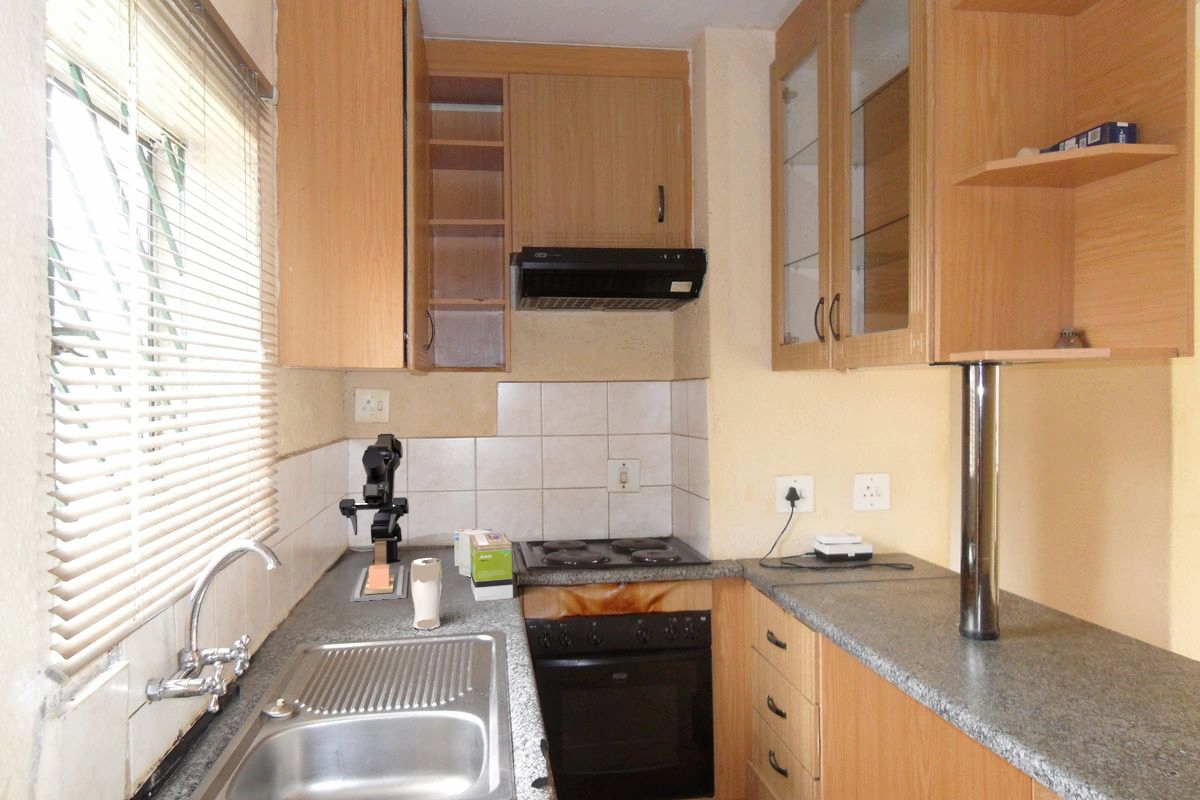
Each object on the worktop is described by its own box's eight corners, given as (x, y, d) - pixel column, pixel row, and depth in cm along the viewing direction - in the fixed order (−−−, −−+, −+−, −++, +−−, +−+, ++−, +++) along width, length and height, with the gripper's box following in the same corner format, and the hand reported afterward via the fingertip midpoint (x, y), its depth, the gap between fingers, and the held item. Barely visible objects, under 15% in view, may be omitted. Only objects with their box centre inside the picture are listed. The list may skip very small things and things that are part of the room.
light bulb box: (493, 562, 244) (492, 527, 244) (488, 567, 237) (487, 531, 237) (459, 561, 245) (459, 527, 245) (453, 566, 238) (453, 531, 238)
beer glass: (415, 622, 180) (414, 557, 180) (445, 622, 180) (444, 557, 180) (407, 631, 174) (406, 564, 173) (438, 631, 173) (437, 564, 173)
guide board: (358, 575, 228) (358, 568, 228) (408, 572, 231) (408, 565, 231) (349, 602, 199) (349, 593, 199) (406, 598, 202) (406, 589, 202)
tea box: (469, 588, 212) (468, 533, 212) (506, 585, 215) (505, 531, 214) (474, 602, 197) (473, 544, 197) (514, 599, 200) (513, 541, 200)
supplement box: (471, 578, 223) (471, 534, 223) (458, 574, 228) (457, 531, 228) (493, 574, 228) (493, 531, 228) (479, 570, 233) (479, 528, 233)
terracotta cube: (370, 584, 208) (370, 565, 208) (389, 582, 209) (389, 564, 209) (369, 588, 203) (368, 569, 203) (388, 587, 204) (388, 568, 204)
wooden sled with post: (368, 579, 217) (368, 540, 217) (394, 578, 218) (394, 539, 218) (364, 594, 201) (364, 551, 201) (392, 592, 203) (392, 550, 203)
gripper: (338, 472, 219) (333, 523, 211) (406, 470, 222) (403, 521, 213) (344, 490, 228) (339, 539, 220) (410, 488, 231) (407, 537, 223)
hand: (372, 534), depth 219 cm, fingers open, 9 cm apart
